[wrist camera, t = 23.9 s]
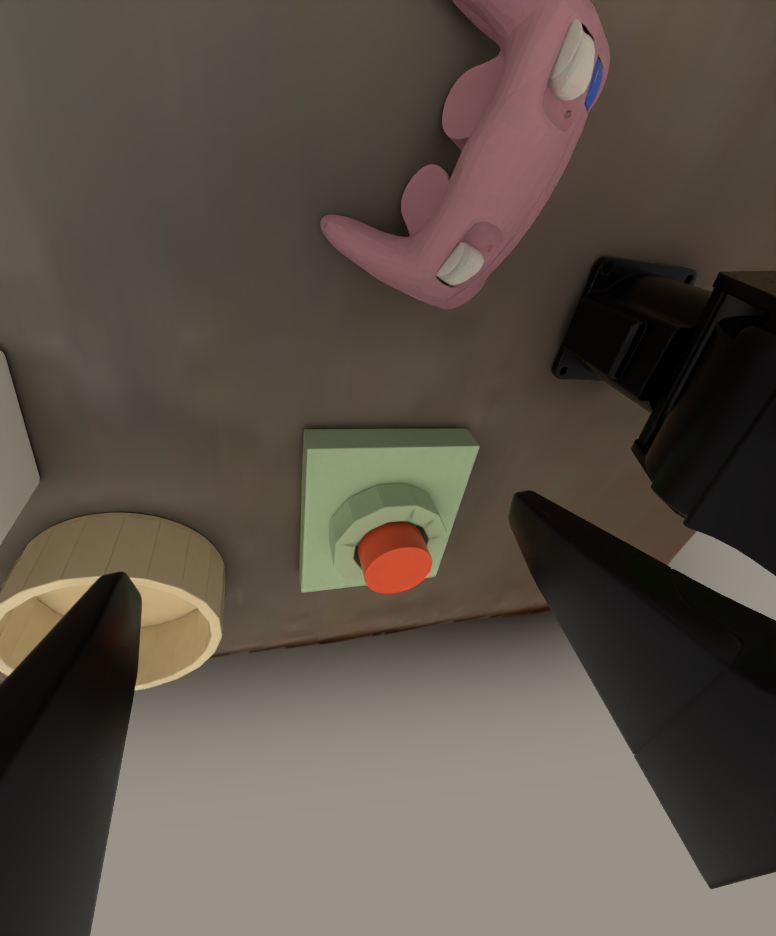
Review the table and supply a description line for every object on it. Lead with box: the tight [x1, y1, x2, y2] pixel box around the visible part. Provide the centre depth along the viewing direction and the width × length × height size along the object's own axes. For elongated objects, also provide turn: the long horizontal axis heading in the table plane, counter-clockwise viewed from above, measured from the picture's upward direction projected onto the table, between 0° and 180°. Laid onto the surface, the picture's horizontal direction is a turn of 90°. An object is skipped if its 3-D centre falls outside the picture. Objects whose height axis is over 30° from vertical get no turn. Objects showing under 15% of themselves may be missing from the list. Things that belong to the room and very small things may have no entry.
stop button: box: [358, 521, 432, 593], centre depth 24 cm, size 4×4×2 cm
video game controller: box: [321, 0, 610, 309], centre depth 14 cm, size 10×5×7 cm, turn 150°
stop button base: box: [299, 428, 480, 593], centre depth 26 cm, size 10×12×4 cm
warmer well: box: [0, 513, 226, 690], centre depth 24 cm, size 11×11×4 cm
